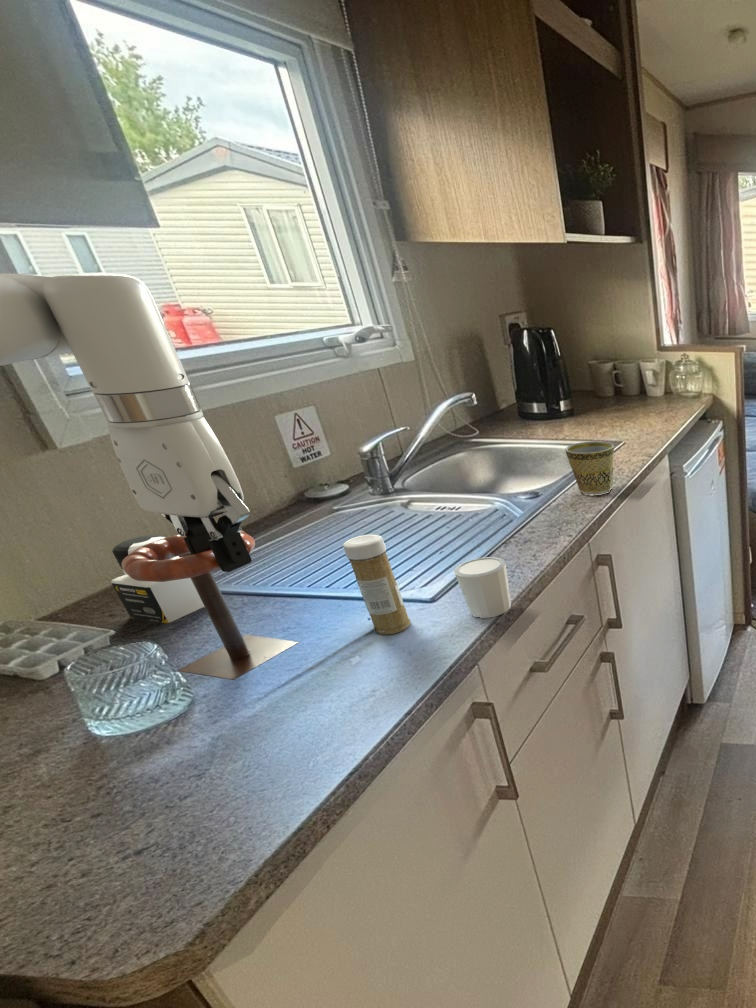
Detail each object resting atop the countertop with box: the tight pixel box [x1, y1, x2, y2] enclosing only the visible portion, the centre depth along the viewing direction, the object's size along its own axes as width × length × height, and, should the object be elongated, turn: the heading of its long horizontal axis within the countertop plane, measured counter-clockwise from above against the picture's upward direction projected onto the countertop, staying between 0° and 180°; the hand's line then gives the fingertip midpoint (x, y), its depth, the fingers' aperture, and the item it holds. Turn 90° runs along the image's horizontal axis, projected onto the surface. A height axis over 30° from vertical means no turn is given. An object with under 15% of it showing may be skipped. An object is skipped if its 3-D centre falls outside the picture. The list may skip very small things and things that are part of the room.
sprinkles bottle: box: [342, 534, 411, 636], centre depth 89 cm, size 5×5×13 cm
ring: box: [122, 530, 256, 582], centre depth 77 cm, size 12×12×2 cm
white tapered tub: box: [453, 556, 512, 619], centre depth 96 cm, size 7×7×7 cm
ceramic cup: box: [564, 440, 615, 495], centre depth 144 cm, size 13×10×10 cm
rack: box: [176, 572, 300, 681], centre depth 82 cm, size 9×9×13 cm
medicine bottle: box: [110, 534, 205, 624], centre depth 93 cm, size 7×7×12 cm
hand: (225, 564), depth 77 cm, fingers closed on ring, 2 cm apart
